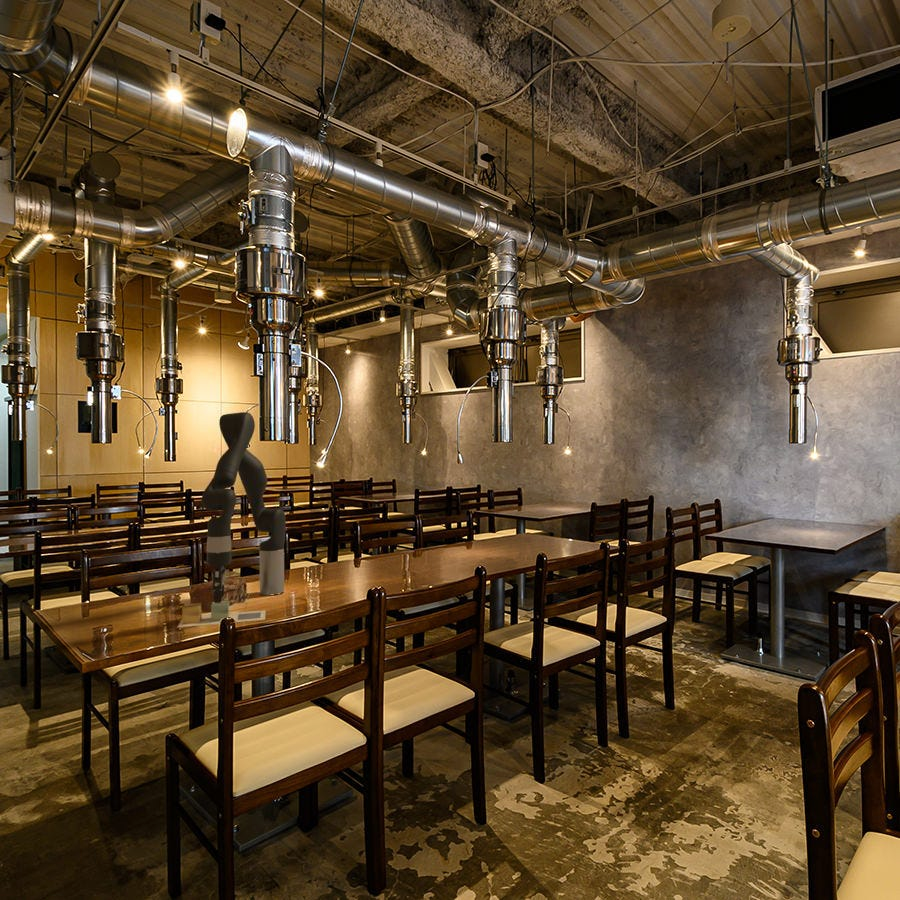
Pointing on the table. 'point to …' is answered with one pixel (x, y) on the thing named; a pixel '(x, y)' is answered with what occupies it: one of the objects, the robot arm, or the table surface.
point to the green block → (219, 610)
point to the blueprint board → (236, 616)
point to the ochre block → (191, 613)
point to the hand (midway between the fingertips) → (219, 599)
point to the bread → (232, 593)
